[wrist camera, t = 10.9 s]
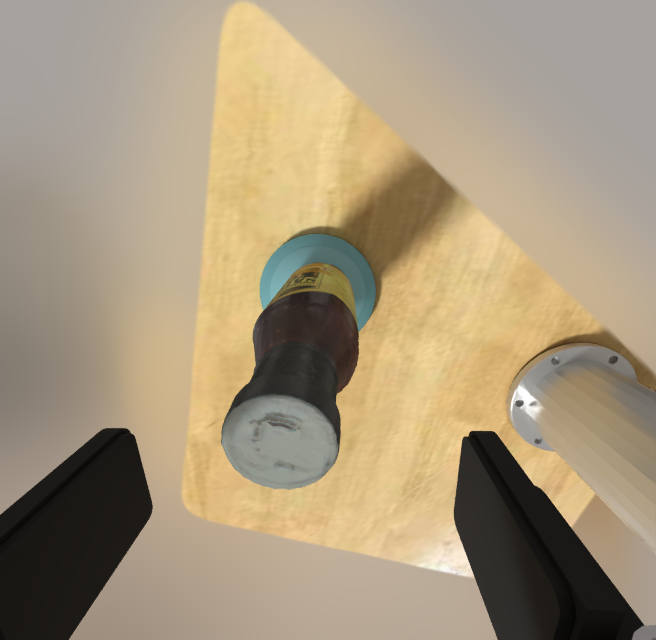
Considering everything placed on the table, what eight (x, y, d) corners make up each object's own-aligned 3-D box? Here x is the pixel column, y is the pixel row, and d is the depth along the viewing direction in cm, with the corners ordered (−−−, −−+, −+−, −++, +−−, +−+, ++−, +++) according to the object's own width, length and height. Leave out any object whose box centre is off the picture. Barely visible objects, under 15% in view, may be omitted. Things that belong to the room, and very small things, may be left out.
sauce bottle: (316, 245, 27) (273, 301, 8) (366, 291, 28) (428, 428, 10) (271, 298, 29) (150, 444, 10) (320, 339, 30) (296, 538, 11)
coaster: (375, 231, 28) (377, 232, 27) (373, 343, 31) (374, 346, 30) (256, 235, 28) (253, 235, 27) (267, 345, 31) (265, 349, 31)
